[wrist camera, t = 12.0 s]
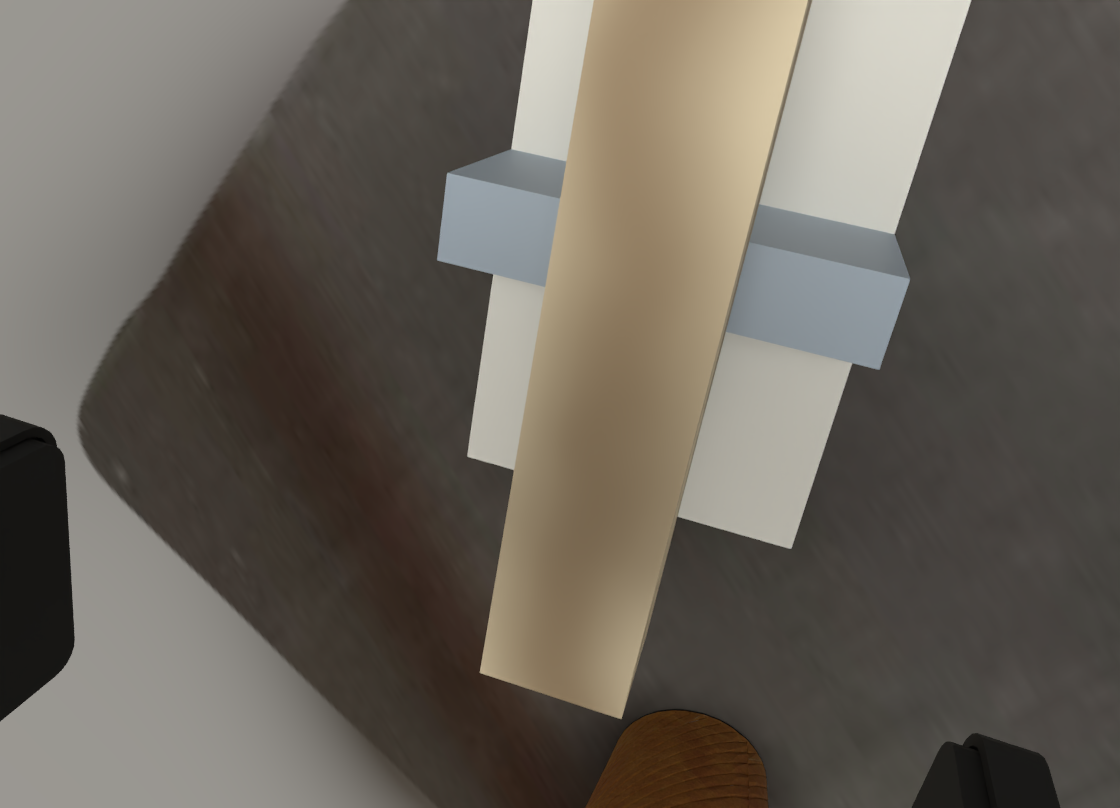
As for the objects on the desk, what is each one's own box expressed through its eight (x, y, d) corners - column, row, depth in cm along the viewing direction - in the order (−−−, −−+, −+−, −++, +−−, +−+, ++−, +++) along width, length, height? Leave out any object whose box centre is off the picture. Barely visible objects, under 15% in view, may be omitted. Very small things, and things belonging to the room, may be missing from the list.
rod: (870, -225, 19) (881, -287, 15) (647, 630, 28) (621, 719, 24) (680, -251, 19) (647, -316, 16) (523, 592, 28) (479, 672, 25)
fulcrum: (997, -97, 24) (1052, -138, 18) (792, 534, 32) (784, 644, 27) (566, -164, 26) (493, -221, 20) (476, 445, 34) (405, 529, 29)
